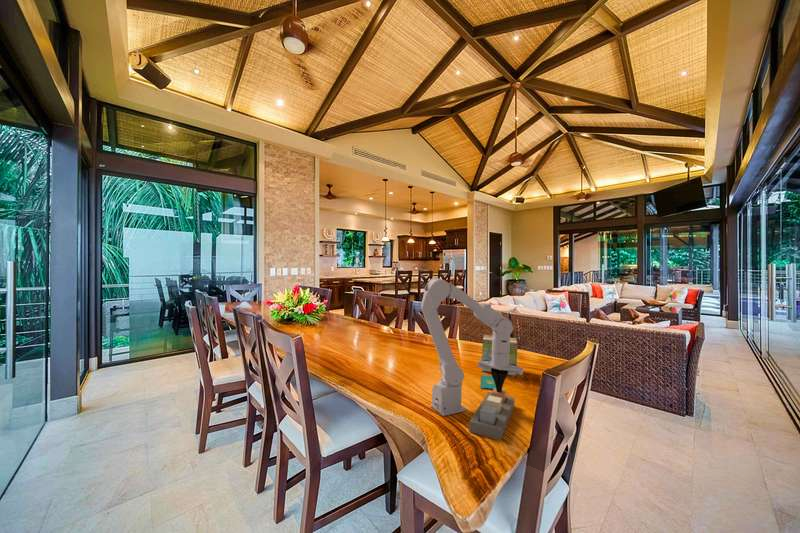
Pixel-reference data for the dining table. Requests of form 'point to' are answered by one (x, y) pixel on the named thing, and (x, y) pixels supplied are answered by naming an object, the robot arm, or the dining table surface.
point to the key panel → (501, 422)
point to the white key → (495, 403)
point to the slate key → (488, 415)
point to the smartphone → (487, 382)
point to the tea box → (488, 352)
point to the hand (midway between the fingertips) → (499, 391)
